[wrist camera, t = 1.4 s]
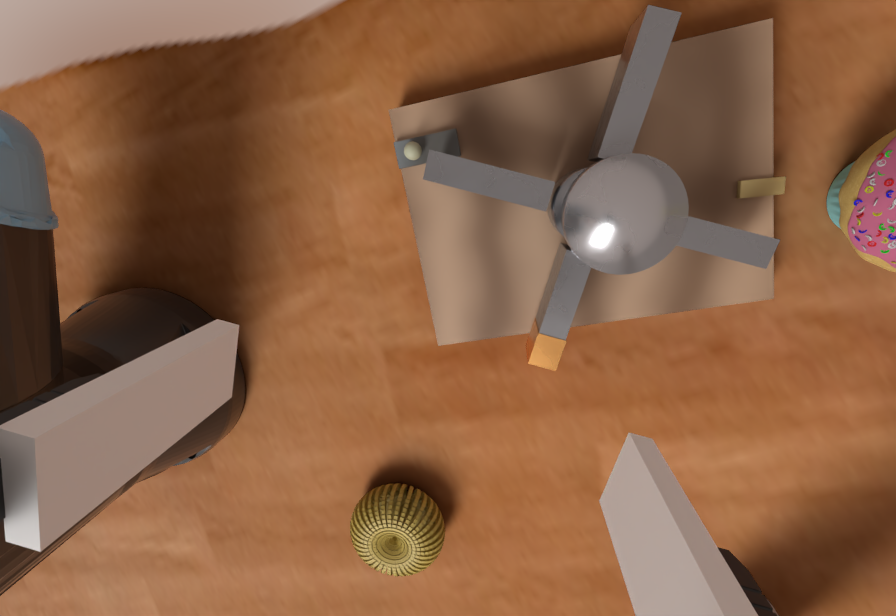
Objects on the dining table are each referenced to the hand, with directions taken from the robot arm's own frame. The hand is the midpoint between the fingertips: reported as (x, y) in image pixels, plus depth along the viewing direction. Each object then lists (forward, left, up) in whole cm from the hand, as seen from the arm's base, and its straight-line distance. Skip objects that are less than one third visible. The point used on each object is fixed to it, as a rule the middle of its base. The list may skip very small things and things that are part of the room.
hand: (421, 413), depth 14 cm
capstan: (+6, +8, -16) cm, 19 cm away
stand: (+6, +8, -19) cm, 21 cm away
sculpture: (0, -21, -19) cm, 29 cm away
